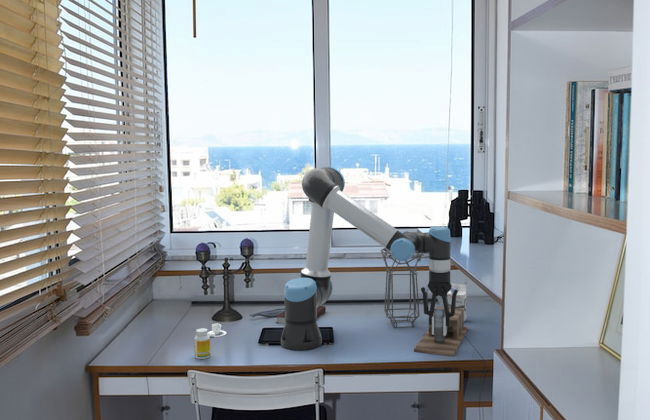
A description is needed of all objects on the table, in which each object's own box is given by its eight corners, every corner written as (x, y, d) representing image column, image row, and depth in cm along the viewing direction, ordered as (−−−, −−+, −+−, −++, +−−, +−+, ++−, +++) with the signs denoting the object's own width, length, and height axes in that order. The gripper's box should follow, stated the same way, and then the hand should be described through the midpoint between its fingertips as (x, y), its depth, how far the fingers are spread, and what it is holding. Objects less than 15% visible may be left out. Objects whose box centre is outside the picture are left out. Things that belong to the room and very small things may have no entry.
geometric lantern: (384, 330, 236) (384, 242, 233) (380, 319, 252) (380, 236, 248) (425, 329, 237) (425, 241, 233) (418, 318, 252) (418, 235, 248)
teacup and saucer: (208, 339, 230) (208, 329, 230) (200, 334, 237) (200, 324, 237) (229, 335, 235) (229, 325, 235) (221, 330, 242) (221, 320, 241)
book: (326, 313, 264) (326, 305, 264) (306, 327, 244) (306, 318, 244) (296, 310, 269) (296, 302, 269) (275, 324, 249) (275, 315, 249)
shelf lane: (454, 356, 207) (454, 333, 206) (413, 351, 212) (413, 329, 211) (468, 329, 236) (468, 309, 236) (432, 325, 242) (432, 306, 241)
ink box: (443, 320, 249) (443, 285, 247) (446, 317, 253) (446, 282, 252) (463, 322, 245) (463, 287, 243) (466, 319, 249) (467, 284, 248)
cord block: (446, 344, 216) (446, 311, 215) (429, 342, 218) (430, 310, 217) (457, 327, 236) (458, 297, 235) (442, 325, 238) (442, 295, 237)
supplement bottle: (191, 357, 210) (190, 330, 209) (204, 353, 214) (203, 326, 213) (200, 360, 207) (199, 333, 206) (213, 356, 211) (212, 329, 210)
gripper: (464, 269, 216) (464, 333, 219) (419, 266, 222) (419, 328, 225) (461, 273, 209) (460, 339, 212) (414, 270, 215) (414, 334, 218)
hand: (439, 333), depth 218 cm, fingers closed on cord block, 3 cm apart
